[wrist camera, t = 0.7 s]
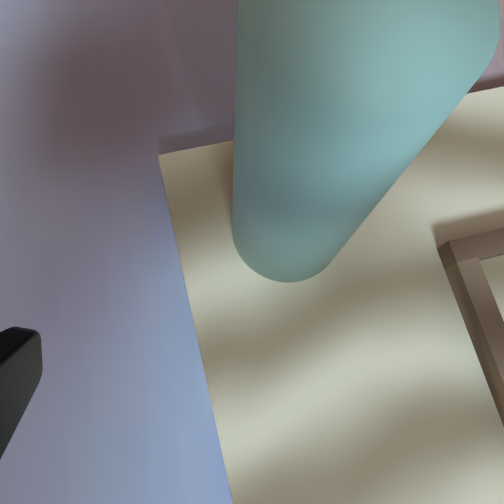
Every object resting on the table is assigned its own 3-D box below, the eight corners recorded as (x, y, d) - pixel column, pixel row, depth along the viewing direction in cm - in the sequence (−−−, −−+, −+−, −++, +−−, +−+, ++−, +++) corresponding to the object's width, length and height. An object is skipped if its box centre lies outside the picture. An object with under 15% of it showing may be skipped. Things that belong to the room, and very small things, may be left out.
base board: (744, 438, 21) (817, 445, 18) (254, 594, 18) (258, 627, 16) (566, 87, 26) (603, 54, 23) (161, 169, 23) (153, 141, 21)
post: (354, 268, 21) (543, 86, 8) (246, 294, 20) (277, 140, 8) (322, 169, 22) (444, -114, 10) (220, 191, 22) (211, -81, 9)
